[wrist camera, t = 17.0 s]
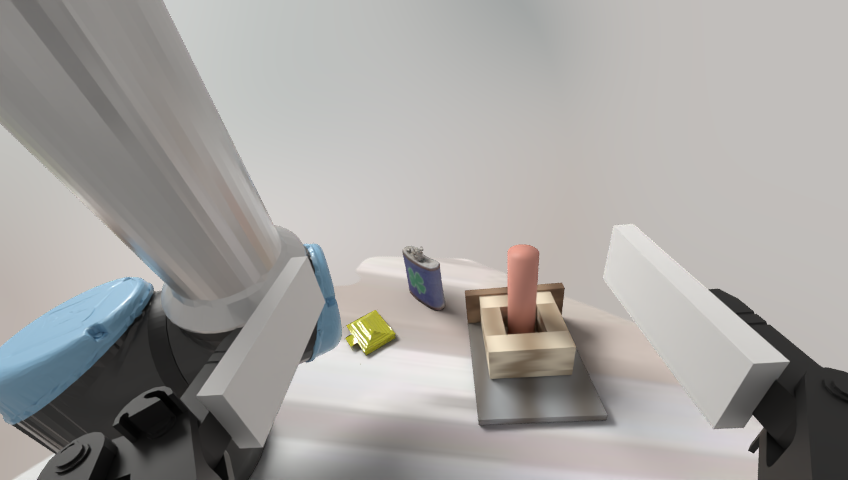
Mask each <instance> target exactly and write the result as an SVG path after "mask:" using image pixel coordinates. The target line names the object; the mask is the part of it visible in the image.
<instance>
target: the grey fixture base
mask: <svg viewBox="0 0 848 480" xmlns="http://www.w3.org/2000/svg"><path fill="white" fill-rule="evenodd" d="M564 289H565V288H564V286H563V284H562V283H552V284H540V285H537V292H541V291H550V292H551V294H552V296H553V299H554V301H555V303H556V305H557V307H558V309H559V311H560V313H561V316H562V307H563V298H564ZM504 294H508V287H503V288H491V289H479V290H466V291H465V298H466V309H467V319H468V329H469V338H470V347H471V357H472V366H473V375H474V384H475V393H476V403H477V412H478V421H479V425H490V424H517V423H543V422H570V421H597V420H606V418H607V413H606V411H605V409H604V407H603V404H602V402H601V400H600V398H599V396H598V394H597V392H596V389H595V387H594V385H593V383H592V381H591V379H590V377H589V374H588V372H587V370H586V368H585V366H584V364H583V362H582V359H581V357H580V355H579V353H578V351H577V349H576V351H575V358H574V365H573V371H572V375H557V376H538V377H519V378H499V379H490V376H489V369H488V363H487V357H486V350H485V344H484V338H483V331H482V325H481V315H480V300H479V296H491V295H504Z"/></svg>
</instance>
